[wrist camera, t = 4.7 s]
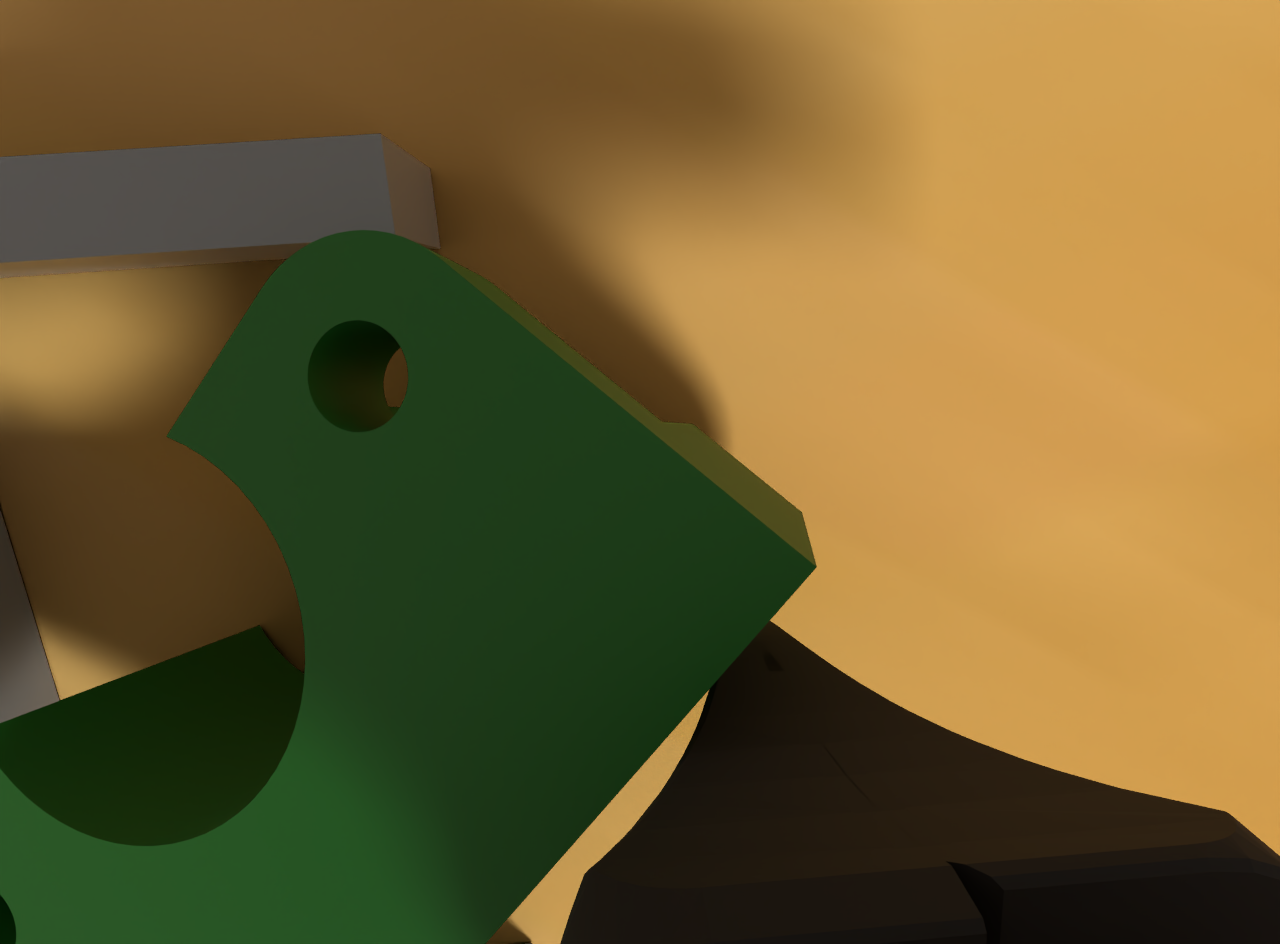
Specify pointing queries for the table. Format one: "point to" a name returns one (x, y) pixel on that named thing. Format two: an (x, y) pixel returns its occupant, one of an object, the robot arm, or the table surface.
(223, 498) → the table surface
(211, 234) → the tool bay
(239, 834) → the clamp
